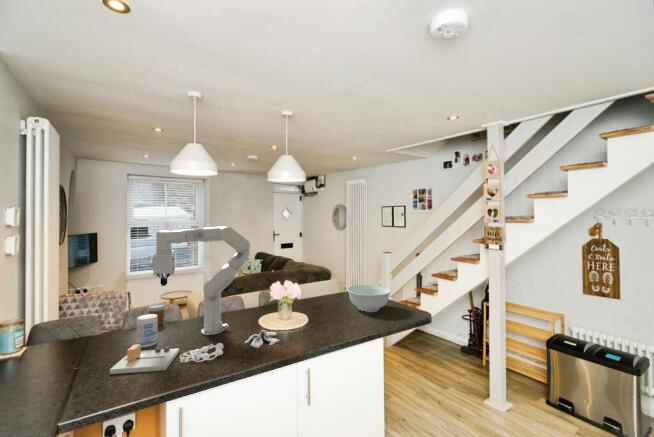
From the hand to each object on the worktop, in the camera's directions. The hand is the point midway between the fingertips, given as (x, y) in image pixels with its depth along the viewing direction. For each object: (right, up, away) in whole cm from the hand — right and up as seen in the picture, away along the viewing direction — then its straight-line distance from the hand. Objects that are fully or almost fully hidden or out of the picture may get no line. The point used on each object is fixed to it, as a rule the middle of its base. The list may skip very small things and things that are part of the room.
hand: (163, 285), depth 168 cm
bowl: (+123, -29, +52) cm, 136 cm away
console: (+9, -29, -30) cm, 43 cm away
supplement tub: (-4, -29, -10) cm, 31 cm away
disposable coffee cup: (-15, -30, +20) cm, 39 cm away
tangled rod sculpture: (+33, -29, -25) cm, 51 cm away
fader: (+3, -26, -31) cm, 41 cm away
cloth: (+55, -30, -5) cm, 63 cm away
